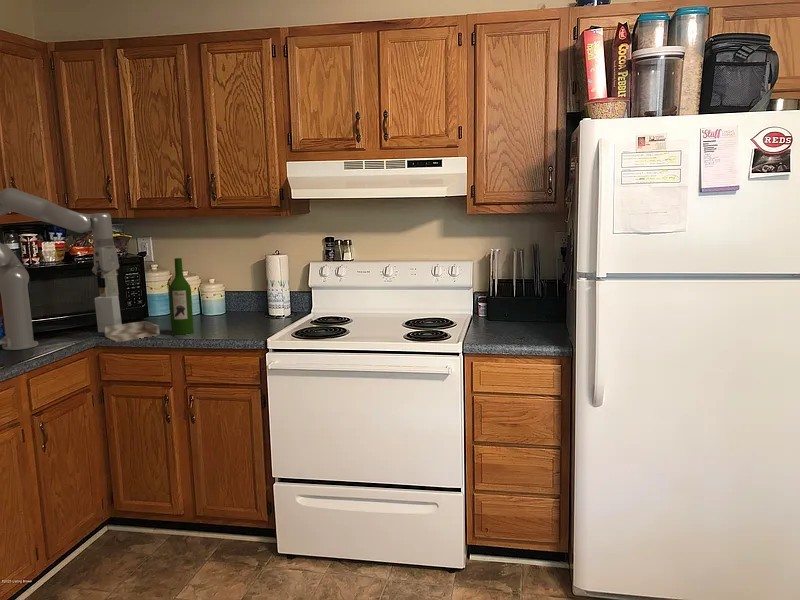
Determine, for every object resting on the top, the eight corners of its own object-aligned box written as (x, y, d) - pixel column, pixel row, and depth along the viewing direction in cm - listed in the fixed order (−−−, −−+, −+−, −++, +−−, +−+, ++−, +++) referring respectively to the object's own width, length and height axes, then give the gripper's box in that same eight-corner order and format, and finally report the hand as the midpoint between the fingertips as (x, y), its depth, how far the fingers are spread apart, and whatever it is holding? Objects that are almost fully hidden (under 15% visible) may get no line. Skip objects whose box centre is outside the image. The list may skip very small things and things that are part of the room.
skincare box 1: (112, 294, 286) (109, 265, 284) (119, 295, 284) (116, 266, 282) (99, 297, 281) (95, 267, 279) (105, 297, 279) (102, 268, 277)
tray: (116, 342, 278) (115, 331, 277) (105, 337, 288) (104, 326, 288) (159, 335, 290) (159, 325, 289) (147, 330, 300) (146, 320, 299)
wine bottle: (172, 336, 288) (166, 259, 283) (172, 332, 296) (167, 257, 291) (194, 334, 290) (189, 258, 285) (193, 330, 299) (188, 257, 294)
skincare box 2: (122, 329, 304) (119, 295, 302) (115, 332, 298) (112, 297, 295) (104, 329, 305) (101, 295, 302) (96, 332, 298) (93, 297, 296)
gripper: (97, 245, 270) (102, 289, 273) (125, 241, 286) (129, 283, 289) (81, 245, 271) (86, 289, 274) (109, 241, 288) (113, 283, 291)
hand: (108, 285), depth 282 cm, fingers closed on skincare box 1, 7 cm apart
